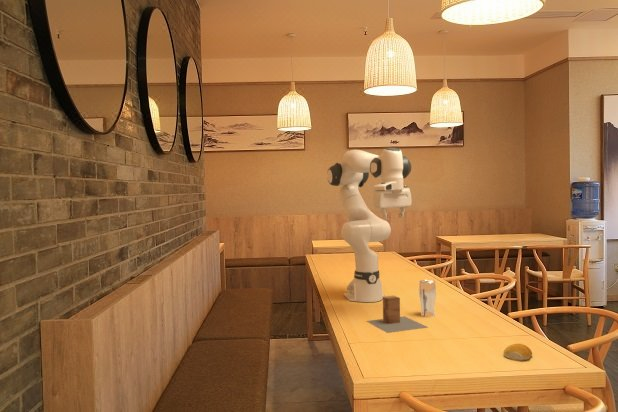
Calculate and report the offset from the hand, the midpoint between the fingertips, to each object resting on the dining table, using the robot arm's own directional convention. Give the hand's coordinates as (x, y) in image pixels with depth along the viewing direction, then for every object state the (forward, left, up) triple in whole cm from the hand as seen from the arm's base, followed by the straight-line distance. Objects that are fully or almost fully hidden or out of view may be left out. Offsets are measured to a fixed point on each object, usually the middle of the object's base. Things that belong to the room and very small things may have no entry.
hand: (393, 218), depth 219 cm
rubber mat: (+15, -7, -42) cm, 45 cm away
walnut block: (+11, -7, -41) cm, 43 cm away
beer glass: (+8, +12, -42) cm, 44 cm away
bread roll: (+62, +11, -42) cm, 76 cm away
